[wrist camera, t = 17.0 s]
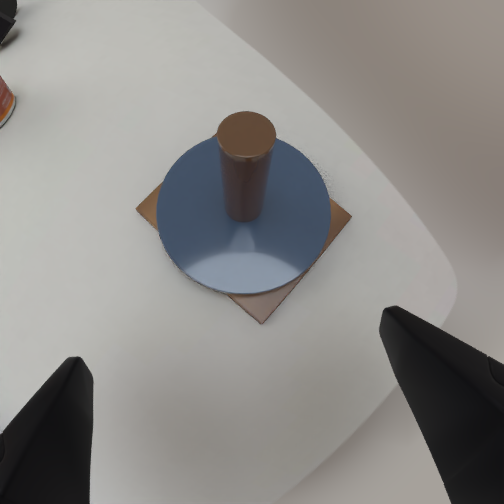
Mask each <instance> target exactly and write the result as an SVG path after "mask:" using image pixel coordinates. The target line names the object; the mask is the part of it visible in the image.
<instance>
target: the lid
mask: <svg viewBox="0 0 504 504" xmlns="http://www.w3.org/2000/svg"><path fill="white" fill-rule="evenodd" d="M156 220H157V228H158V232H159V236H160V239H161V241H162V243H163V246H164V248H165V250H166V251H167V253H168V255H169V256H170V258H171V259H172V260H173V262H174V263H175V264H176V265H177V266H178V268H179V269H181V270H182V271H183V272H184V273H185V274H186V275H187V276H188V277H190V278H191V279H193V280H194V281H196V282H197V283H199V284H201V285H203V286H205V287H207V288H210V289H213V290H215V291H218V292H223V293H228V294H235V295H253V294H260V293H265V292H269V291H272V290H275V289H278V288H280V287H282V286H284V285H286V284H288V283H290V282H292V281H293V280H295V279H296V278H297V277H299V276H300V275H301V274H302V273H304V272H305V271H306V270H307V269H308V268H309V267H310V266H311V264H312V263H313V262H314V261H315V260H316V258H317V257H318V255H319V254H320V252H321V250H322V249H323V246H324V244H325V242H326V239H327V236H328V233H329V229H330V221H331V205H330V199H329V195H328V192H327V188H326V185H325V183H324V181H323V179H322V177H321V175H320V174H319V172H318V171H317V169H316V168H315V166H314V165H313V164H312V163H311V162H310V160H309V159H308V158H306V157H305V156H304V155H303V154H302V153H301V152H300V151H298V150H297V149H295V148H294V147H293V146H291V145H289V144H287V143H286V142H284V141H281V140H279V139H276V131H275V128H274V126H273V124H272V123H271V122H270V120H268V119H267V118H266V117H265V116H263V115H261V114H258V113H255V112H249V111H243V112H237V113H234V114H231V115H229V116H228V117H226V118H225V119H224V120H223V121H222V122H221V124H220V125H219V127H218V130H217V136H216V137H213V138H210V139H208V140H205V141H203V142H201V143H199V144H197V145H196V146H194V147H192V148H191V149H190V150H188V151H187V152H186V153H184V154H183V155H182V156H181V157H180V158H179V159H178V160H177V161H176V162H175V164H174V165H173V166H172V167H171V169H170V170H169V172H168V173H167V175H166V177H165V179H164V181H163V183H162V185H161V188H160V191H159V194H158V199H157V205H156Z"/></svg>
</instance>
